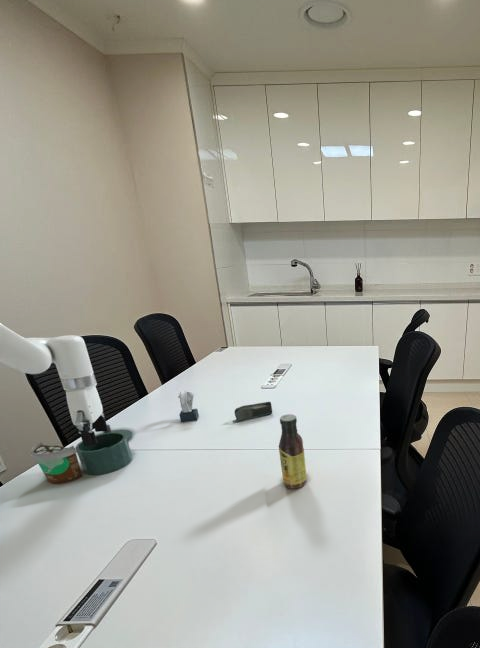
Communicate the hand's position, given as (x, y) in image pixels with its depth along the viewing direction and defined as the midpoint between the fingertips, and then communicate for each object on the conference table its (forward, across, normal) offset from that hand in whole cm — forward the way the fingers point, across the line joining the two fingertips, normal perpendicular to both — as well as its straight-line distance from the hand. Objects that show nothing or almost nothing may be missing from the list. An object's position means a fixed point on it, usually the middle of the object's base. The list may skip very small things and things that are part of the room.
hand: (96, 437), depth 113 cm
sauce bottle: (+8, +30, +53) cm, 62 cm away
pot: (+9, 0, +1) cm, 9 cm away
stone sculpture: (+8, -27, +21) cm, 35 cm away
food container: (+9, +6, -10) cm, 15 cm away
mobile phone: (+8, -20, +44) cm, 49 cm away
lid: (+8, -17, -3) cm, 19 cm away
